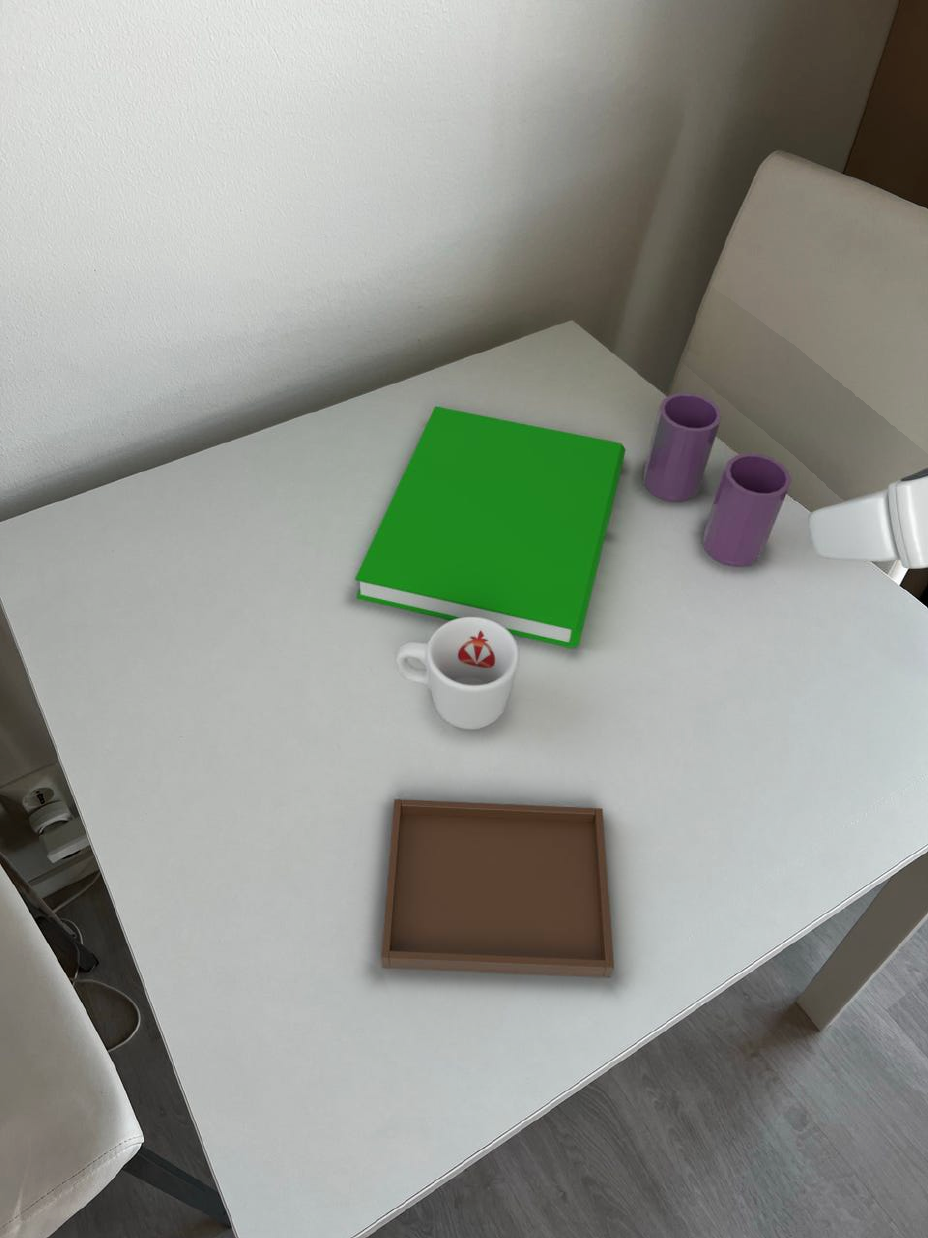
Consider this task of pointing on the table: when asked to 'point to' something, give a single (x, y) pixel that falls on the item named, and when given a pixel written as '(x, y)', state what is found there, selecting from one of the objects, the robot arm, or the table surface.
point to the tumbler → (681, 446)
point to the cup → (465, 670)
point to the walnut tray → (497, 889)
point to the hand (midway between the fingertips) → (858, 508)
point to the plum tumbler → (745, 509)
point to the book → (496, 526)
